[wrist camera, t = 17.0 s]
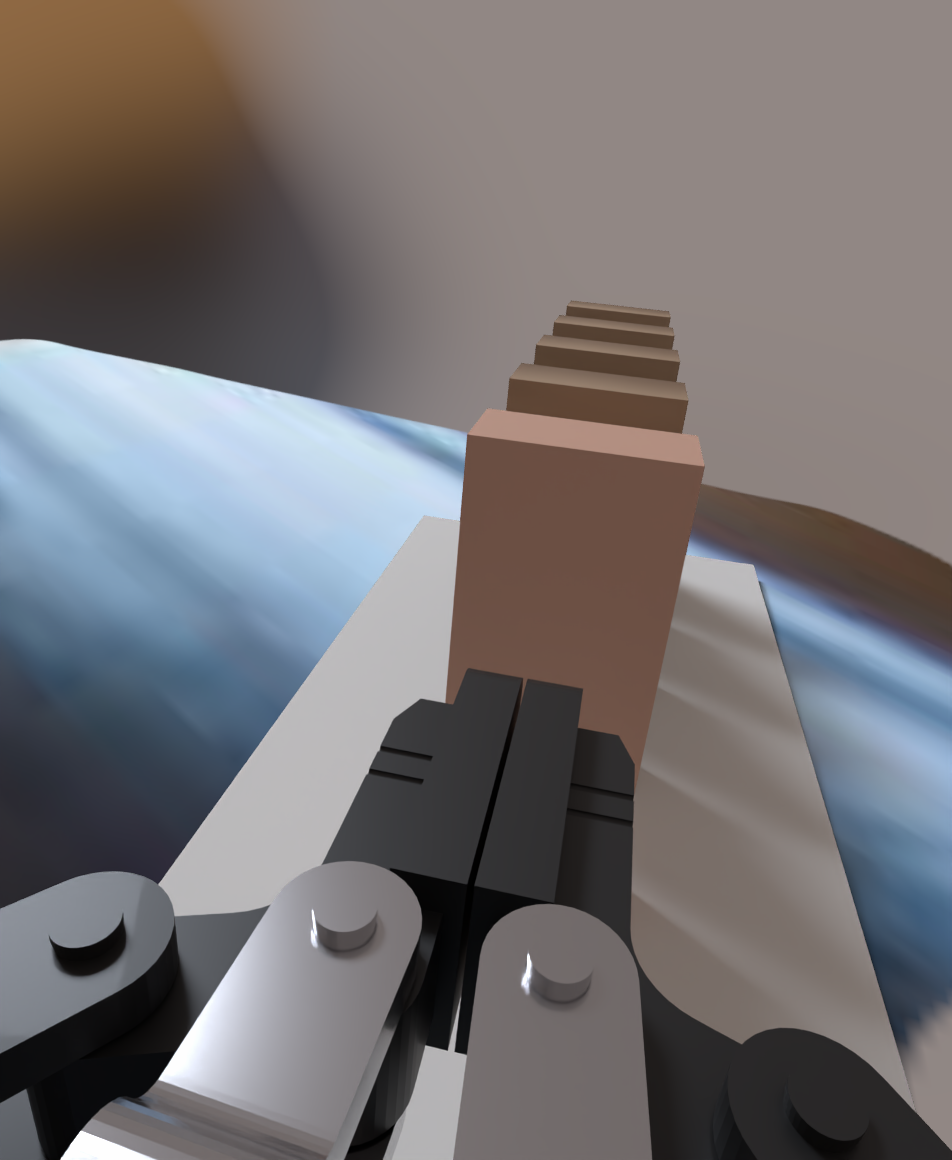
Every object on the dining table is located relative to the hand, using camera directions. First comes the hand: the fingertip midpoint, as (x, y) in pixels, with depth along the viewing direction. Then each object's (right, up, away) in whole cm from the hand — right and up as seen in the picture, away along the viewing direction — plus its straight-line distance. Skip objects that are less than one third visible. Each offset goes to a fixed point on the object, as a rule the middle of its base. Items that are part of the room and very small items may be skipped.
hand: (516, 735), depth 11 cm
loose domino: (+1, -5, +9) cm, 10 cm away
